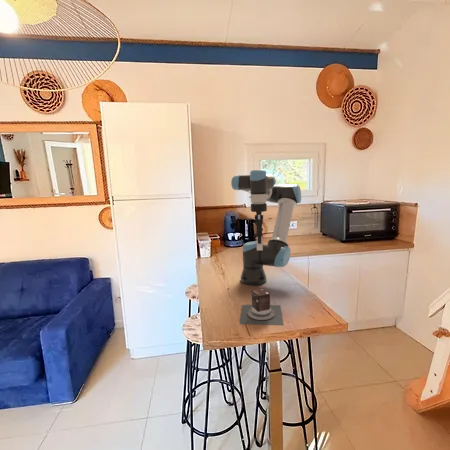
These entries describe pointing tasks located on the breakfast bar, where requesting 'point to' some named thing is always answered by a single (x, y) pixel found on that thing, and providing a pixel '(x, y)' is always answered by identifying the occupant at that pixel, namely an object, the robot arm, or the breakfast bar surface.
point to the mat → (274, 321)
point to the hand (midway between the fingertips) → (259, 246)
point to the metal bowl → (261, 314)
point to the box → (260, 300)
